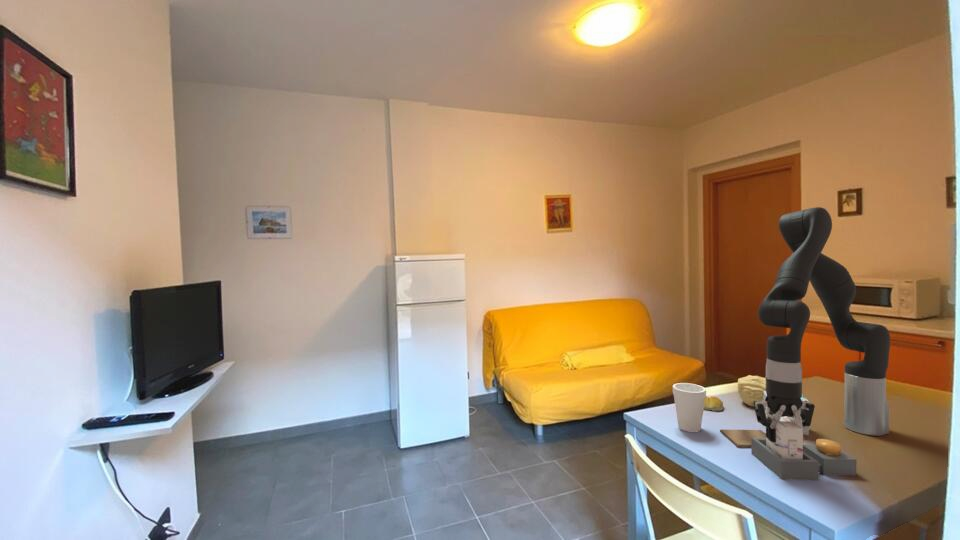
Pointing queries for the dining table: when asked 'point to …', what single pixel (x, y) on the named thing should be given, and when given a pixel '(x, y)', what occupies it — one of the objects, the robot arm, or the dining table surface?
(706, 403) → the bread roll
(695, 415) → the foam cup
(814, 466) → the cartridge dock
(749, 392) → the sculpture
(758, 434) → the walnut pad
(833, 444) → the orange dome button
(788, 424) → the ink cartridge box
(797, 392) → the robot arm
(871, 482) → the dining table surface
